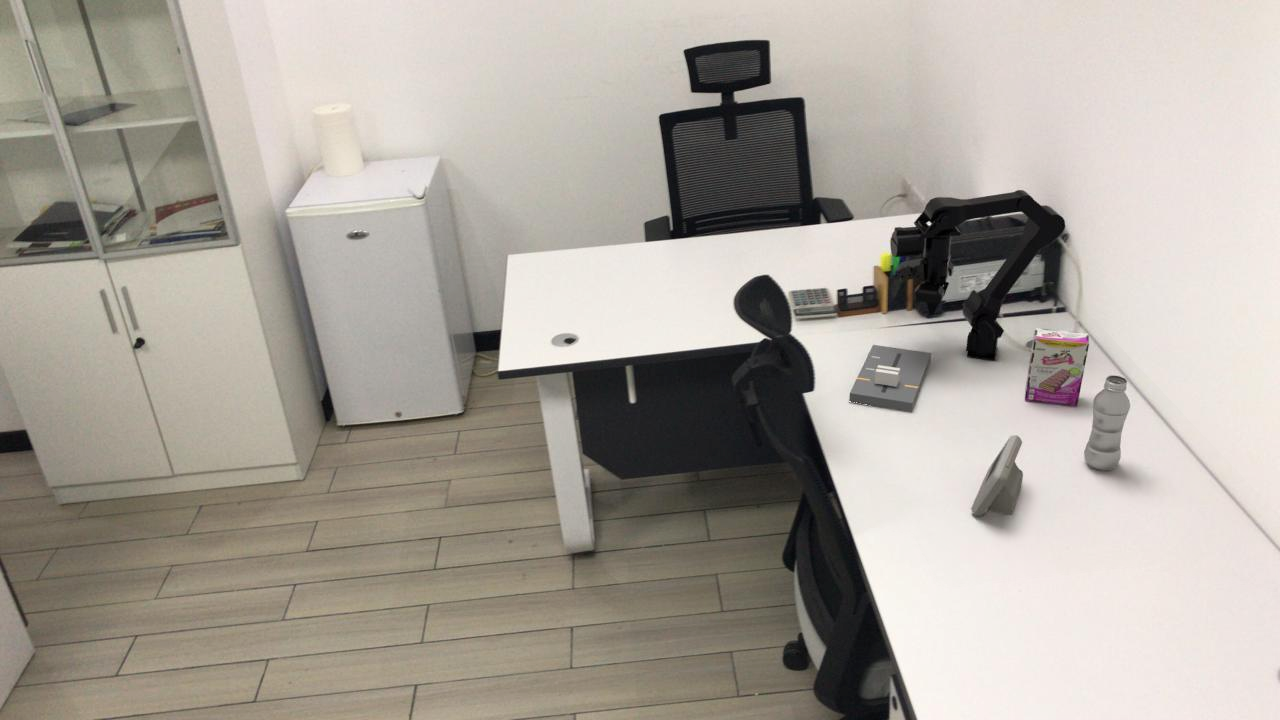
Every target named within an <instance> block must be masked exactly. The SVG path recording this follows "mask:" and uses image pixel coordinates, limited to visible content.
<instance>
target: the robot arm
mask: <svg viewBox="0 0 1280 720" xmlns="http://www.w3.org/2000/svg"><path fill="white" fill-rule="evenodd" d="M1014 213H1023V214H1024V215H1025V216H1026V217H1027V219H1026V220H1025V221H1026V222H1025V223H1024V228H1023V231H1022V236H1021V239H1020V240H1019V242H1018V243H1017V244H1016V245H1015V246H1014V249H1012V251H1011V252H1010V254H1009V255H1008V256H1007V258H1006V259H1005V261H1004V262H1003V263H1002V265H1001V266H1000V267H999V268H998V270H997V272H996V273H995V274H994V276H993V277H992V278H991V279H990V281H989V282H988V284H987V286H986V287H985V288H983V289H981V290H980V291H976V290H975V289H973V290H971V292H970V293H969V295H968V297H967V298H966V299H965V300H964V301H962V304H963V306H962V310H961V311H962V315H963V316H964V318H965V320H966V321H967V323H968V324H969V325H970V326H971V329H970V331H969V332H968V334H967V338H966V339H967V340H966V345H965V346H966V348H965V351H966V352H967V354H966V357H967V358H975V359H980V360H981V359H982V360H990V361H995V360H996V357H997V354H998V351H999V350H998V349H999V347H998V342H999V339H1001V338H1002V336H1003V333H1004V332H1005V329H1004V328H1003V327H1002V326H1001V325H1000V323H999V322H998V321H997V319H998V317H999V315H1000V313H1001V307H1002V304H1003V300H1004V299H1005V298H1006V296H1007V294H1008V293H1009V292H1010V291H1011V290H1012V288H1013V287H1014V285H1015V284H1016V282H1017V281H1018V280H1019V279H1020V277H1022V274H1023V273H1024V272H1025V271H1026V269H1027V268H1028V267H1029V265H1030V264H1031V263H1032V261H1033V260H1034V258H1036V256H1037V255H1038V254H1039V252H1040V251H1041V250H1042V249H1045V248H1046V247H1048V246H1049V245H1051V244H1053V243H1054V242H1055V241H1056V240H1057V239H1058V238H1059V237H1060V236H1061V235H1062V234H1063V233H1064V231H1065V230H1066V222H1065V219H1064V217H1063V216H1061V215H1060V214H1059V213H1058V212H1057V211H1056V210H1055V209H1054V208H1053V207H1051V206H1050V205H1045V204H1044V205H1041V204H1040V203H1039V202H1038V201H1036V200H1035V199H1034V198H1033V197H1032V196H1031V195H1030V194H1029V193H1028V192H1027V191H1026V190H1023V189H1017V190H1015V191H1012V192H1006V193H998V194H993V195H992V194H991V195H986V196H980V197H974V198H973V197H972V198H955V197H947V196H945V197H944V196H943V197H941V196H937V197H934V198H931V199H929V201H928V202H927V203H926V204H925V206H924V210H923V211H922V212H921V213H920V214H919V216H918V217H917V218H916V219H915V221H914V222H913V224H914V226H909V227H907V226H906V227H901V226H899V227H897V226H896V227H894V232H892V234H891V237H890V240H889V241H890V243H889V244H890V245H889V246H890V250H891V251H890V252H891V253H890V254H891V255H892V257H893V258H904V257H905V258H906V257H915V256H920V255H922V258H916V259H911V260H905V261H903V262H900V263H899V264H898V266H897V268H896V273H897V275H896V277H897V278H898V279H899V280H900V282H901V283H902V282H906V281H910V280H914V279H918V281H920V282H921V283H920V284H918V285H917V286H916V288H914V292H913V301H915V302H920V303H926V306H927V310H928V311H927V312H928V315H934V314H935V313H936V311H937V309H938V307H939V305H940V304H941V303H942V302H943V300H944V299H943V298H944V296H945V295H946V293H947V291H948V287H949V285H950V283H949V282H948V281H947V280H948V278H949V277H952V276H953V274H954V269H955V265H954V263H953V262H952V261H950V260H951V256H952V255H951V242H952V241H951V240H952V237H959V236H962V232H961V231H960V230H959V228H957V227H959V226H961V225H962V224H964V223H965V222H966V221H970V220H975V219H981V218H989V217H995V216H1001V215H1008V214H1014ZM928 223H930V225H928Z"/></svg>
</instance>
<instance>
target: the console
mask: <svg viewBox="0 0 1280 720" xmlns="http://www.w3.org/2000/svg"><path fill="white" fill-rule="evenodd" d="M931 359H932V352H928V351H920V350H914V349H907V348H899V347H892V346H885V345H878V344H872V346H871V348H870V350H869V351H868V355H867V356H866V359H865V360H864V363H863V365H862V367H861V369H860V371H859V372H858V375H857V377H856V379H855V381H854V384H853V386H852V388H851V390H850V392H849V399H848V400H849V401H851V402H855V403H854V404H856V402H857V403H861V404H860V405H862V404H867V405H866V406H868V405H871V406H870V407H876V408H881V409H888V410H894V411H900V412H907V413H912V412H913V410H914V407H915V406H916V405H915V404H916V402H917V400H918V397H919V394H920V391H921V389H922V386H923V383H924V380H925V378H926V375H927V372H928V369H929V367H930V365H931ZM878 365H881V366H888V367H894V368H900V379H899V382H898V385H897V387H895V386H888V385H882V384H875V371H876V369H877V367H878ZM849 401H848V402H849Z"/></svg>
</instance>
